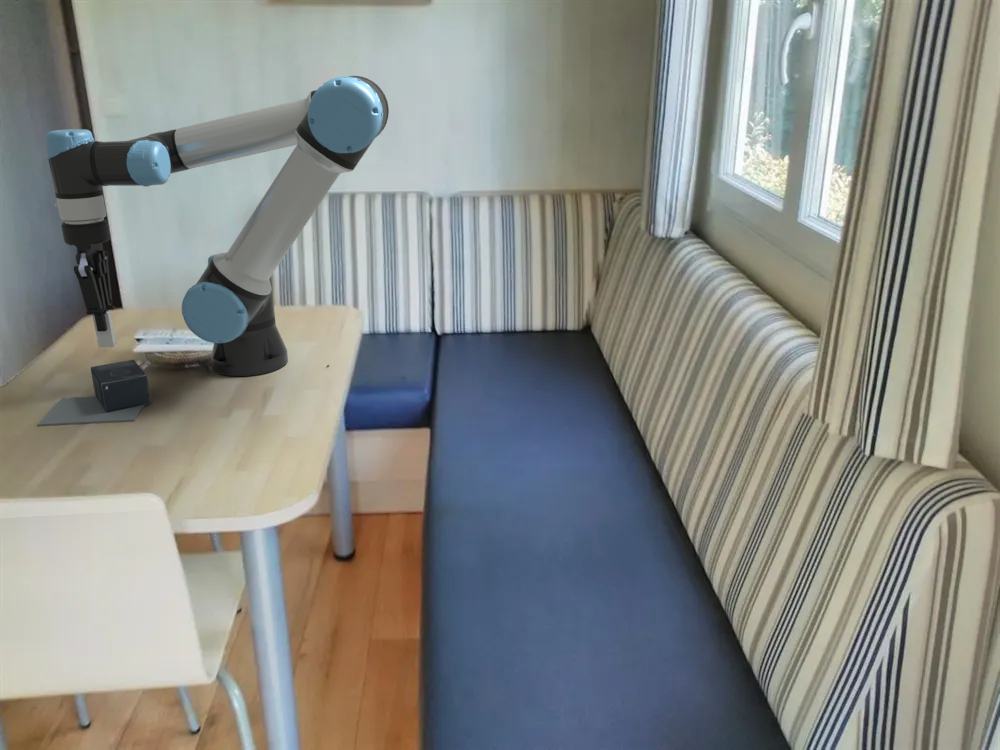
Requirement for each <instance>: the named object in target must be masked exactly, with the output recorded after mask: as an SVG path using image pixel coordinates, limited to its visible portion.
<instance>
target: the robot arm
mask: <svg viewBox="0 0 1000 750" xmlns="http://www.w3.org/2000/svg"><path fill="white" fill-rule="evenodd" d="M389 109H390V108H389V102H388V100H387V97H386V95H385V93H384V91H383V90H382V89H381V87H380V86H379V85H378V84H376V83H375V82H374V81H373V80H371V79H370V78H367V77H364V76H360V75H349V76H339V77H334V78H332V79H331V78H330V79H329V80H328V81H326V82H324V83H323V84H322V85H321V86H319V87H318V88H317V89H316V90H311V91H309V92H308V95H307V97H306V98H302V99H298V100H295V101H290V102H285V103H282V104H276V105H272V106H268V107H265V108H264V107H263V108H261V109H260V108H259V109H256V110H252V111H246V112H243V113H237V114H235V115H230V116H226V117H221V118H216V119H213V120H209V121H204V122H201V123H195V124H192V125H187V126H183V127H179V128H175V129H170V130H167V131H163V132H162V131H159V132H154V133H150V134H149V135H145V136H142V137H138V138H133V139H130V140H121V141H119V140H118V141H99V140H95V138H94V137H93V136H94V135H93V133H92V132H91V130H89V129H84V128H82V129H81V128H80V129H79V128H75V129H74V128H69V129H68V128H67V129H56V130H50V131H49V132H48V133H46V134H45V147H46V154H47V157H46V160H47V161H48V164H49V168H50V169H49V170H50V173H51V174H50V175H51V178H52V183H53V188H54V193H55V198H56V202H54V207H55V208H58V213H59V214H58V215H59V218H60V220H61V221H63V222H62V224H61V225H60V226H61V231H62V237H63V241H64V243H65V244H66V245H68V246H75V247H76V254H75V260H76V264H77V265H74V266H73V271H74V274H75V275H76V278H77V281H78V284H79V288H80V291H81V294H82V297H83V301H84V305H85V309H86V315H87V316H89V315H92V320H93V323H94V331H95V334H96V339H97V345H98V348H110V347H113V348H114V347H115V346H116V345H117V342H116V337H115V332H114V326H113V321H112V319H113V318H112V313H111V310H112V311H114V310H115V305H113V298H112V295H113V294H112V286H111V278H110V268H109V252H108V251H107V250H103V246H102V244H104V243H107V242H109V240H110V239H111V233H110V229H109V227H110V226H109V223H108V220H107V219H106V217H107V211H106V210H107V209H106V205H105V199H104V193H103V190H102V188H103V187H108V186H111V187H113V186H116V187H117V186H123V187H124V186H133V187H136V186H138V187H139V186H141V187H150V186H161V185H165V184H166V183H167V182H168V181H169V178H170V176H171V174H175V173H179V172H184V171H188V170H190V169H196V168H199V167H206V166H208V165H213V164H214V165H215V164H218V163H222V162H227V161H231V160H235V159H236V160H237V159H240V158H244V157H248V156H254V155H257V154H262V153H266V152H267V153H268V152H271V151H275V150H280V149H284V148H288V147H293V146H295V148H294V149H293V150H292V152H291V153H290V155H289V156H288V159H286V162H285V163H284V164H283V165H282V168H281V169H280V171H279V172H278V174H277V176H275V178H274V179H273V182H272V183H271V185H270V186H269V188H268V189H267V191H266V192H265V193H264V195H263V197H262V198H261V199H260V201H259V203H258V204H257V205H256V208H255V209H254V210H253V212H252V214H251V215H250V216H249V219H248V220H247V221H246V223H245V224H244V226H243V228H242V229H241V231H240V232H239V234H238V235H237V237H236V239H235V240H234V241H233V243H232V245H231V246H230V247H229V249H228V251H227V252H220V253H216V254H212V255H210V256H209V257H208V259H207V265H206V266H207V267H206V268H205V270H204V271H203V273H202V274H201V276H200V277H199V279H198V281H197V282H196V283H195V284H193V285H192V286H191V287H189V288H188V290H187V291H186V293H185V295H184V297H183V299H182V303H181V314H182V319H183V320H184V323H185V325H186V326H187V328H188V329H189V330H190V331H191V332H192V334H194V336H196V337H197V338H200V339H201V340H203V341H206V342H208V343H209V342H210V343H213V347H212V351H211V356H210V361H211V367H212V368H211V369H212V370H213V371H214V372H216V373H218V374H220V375H225V376H230V377H233V376H234V377H245V376H247V377H249V376H257V375H263V374H264V375H265V374H268V373H271V372H274V371H277V370H279V369H281V368H283V367H284V366H285V365H287V363H288V362H289V355H288V349H287V347H286V345H285V344H286V343H285V342H284V340H283V337H282V336H281V334H280V331H279V329H278V327H277V323H276V313H275V303H274V295H273V293H274V292H273V284H272V283H273V282H272V275H273V274H274V273H275V271H276V270H277V268H278V266H279V265H280V263H281V262H282V260H283V259H284V258H285V256H286V254H287V253H288V252H289V250H290V248H291V247H292V246H293V244H294V243H295V241H296V240H297V238H298V237H299V235H300V234H301V233H302V230H303V229H304V227H305V226H306V225H307V223H308V222H309V221H310V219H311V217H312V216H313V215H314V213H315V212H316V211H317V209H318V207H319V206H320V205H321V203H322V201H323V200H324V199H325V198H326V197H325V196H326V195H327V194H328V192H329V191H330V189H332V186H333V185H334V183H335V182H336V181H337V179H338V177H339V176H340V175H341V174H345V173H350V172H353V171H354V170H355V168H357V166H358V163H359V162H360V160H361V159H362V158H363V156H364V155H365V154H366V152H367V151H368V149H369V147H370V146H371V145H372V143H373V142H374V140H375V139H376V138H377V137H378V136H379V135H380V134H381V133H382V132H383V130H384V129H385V127H386V126H387V123H388V119H389V113H390V112H389V111H390V110H389ZM111 304H112V305H111Z"/></svg>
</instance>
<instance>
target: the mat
mask: <svg viewBox="0 0 1000 750" xmlns="http://www.w3.org/2000/svg"><path fill="white" fill-rule="evenodd" d="M149 395H150V398H151V397H152V393H149ZM145 405H146V404H143V405H138V406H133V407H129V408H124V409H119V410H114V411H109V412H106V411H105V410H104V408H103V406H102V405H101V403H100V402H99V400H98V398H97V397H96V395H94V396H92V395H91V396H77V397H76V396H73V397H62V398H60V399H59V400H58V401H57V402H56V403H55V405H53V406H52V408H51V409H50V410H49V411H48V412H47V413H46V414H45V415H44V417H43V418H42V419H40V420H39V422H37V427H42V426H43V427H45V426H46V425H47V426H62V425H83V424H85V425H86V424H100V423H101V424H103V423H120V422H122V423H124V422H135V421H136V419H137V418H138V416H139V415H140V413H141V412H142V410H143V409H144V407H146V406H145Z"/></svg>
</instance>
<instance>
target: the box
mask: <svg viewBox="0 0 1000 750" xmlns="http://www.w3.org/2000/svg"><path fill="white" fill-rule="evenodd" d="M90 373H91V378H92V383H93V384H92V385H93V389H94V396H96V397H97V398H98V400H99V402H100V403H101V405H102V406H103V408H104V410H105V411H106V412H109V411H114V410H119V409H124V408H129V407H133V406H138V405H143V404H145V405H147V404H151V397H150V395H149V394H150V388H149V381H148V376H147V374H146V373H145V371H144V370H143V369H142V367H141V366H140V365H139V364H138V363H137V362H136V361H135V359H130V360H124V361H117V362H112V363H108V364H102V365H96V366H90Z"/></svg>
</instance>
